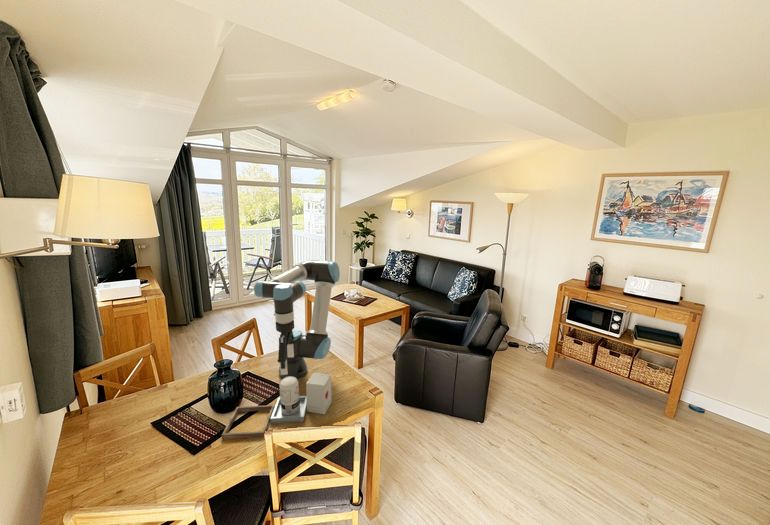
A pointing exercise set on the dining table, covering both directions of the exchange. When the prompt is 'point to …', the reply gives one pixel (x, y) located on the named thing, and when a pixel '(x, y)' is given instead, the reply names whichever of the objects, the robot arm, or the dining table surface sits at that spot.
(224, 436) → the wooden frame
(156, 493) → the dining table surface
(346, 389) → the dining table surface
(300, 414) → the tray
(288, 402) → the supplement can
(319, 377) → the supplement box
